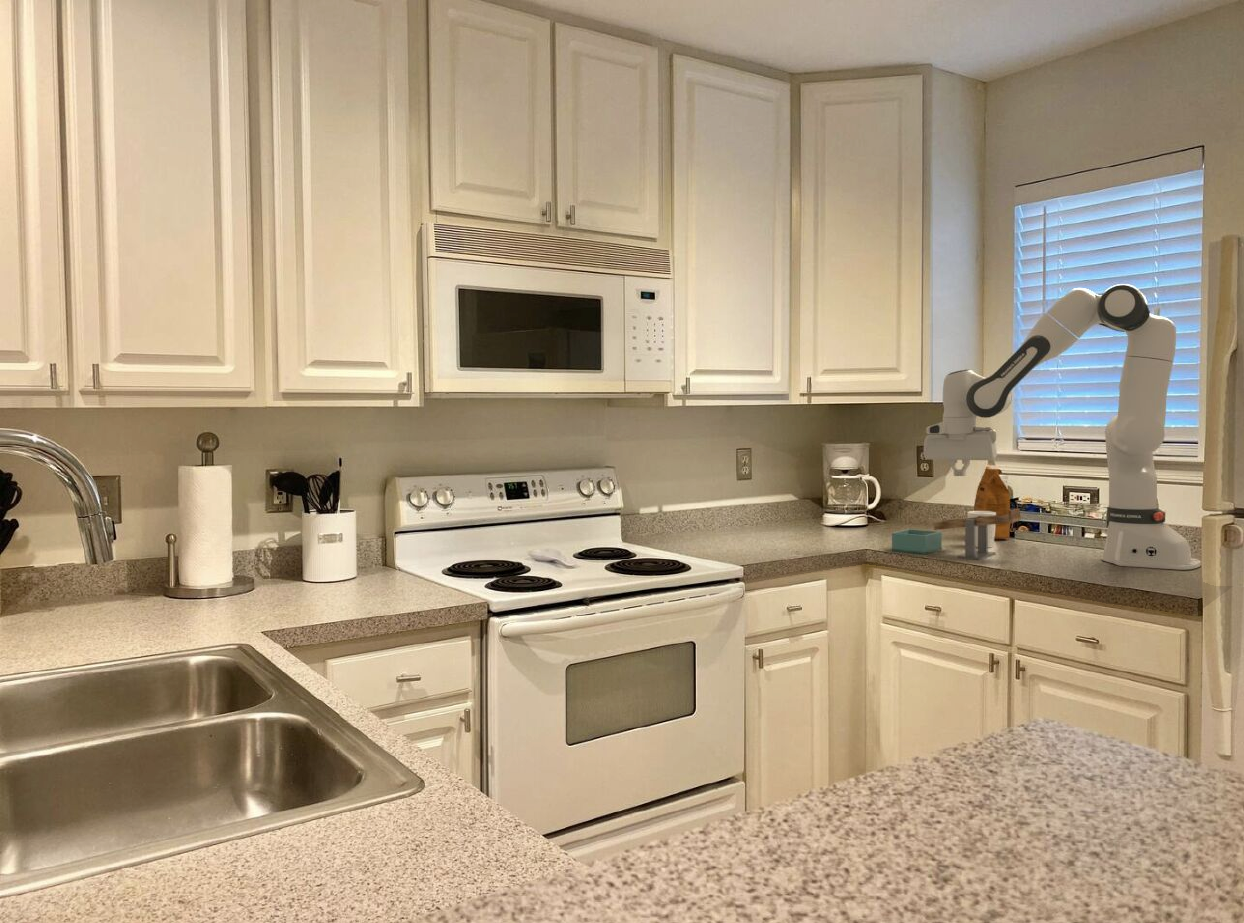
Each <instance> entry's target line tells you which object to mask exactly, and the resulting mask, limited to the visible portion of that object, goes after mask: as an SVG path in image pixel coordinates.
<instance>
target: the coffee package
mask: <svg viewBox="0 0 1244 923" xmlns="http://www.w3.org/2000/svg"><path fill="white" fill-rule="evenodd" d="M1002 473H1003V471H1002V470H1001V469H1000V468H991V467H990V466H986V467H985V469H984V472H983V475H982V476H981V478H980V481H979V483H978V485H977V489H976V493H975V499H974V503H973V504H974V506H973V511H991V512H996V515H1003V514H1008V511H1009V510H1011V505H1010V504H1011V494H1010V490H1009V489H1008V487H1007V485H1006V484H1005V482H1004V481H1003V479H1002V478H1001V476H1000V475H1002ZM1010 527H1011V523H1003V524H996V525H995V537H994V541H995V540H1003V539H1004V540H1005V539H1010V530H1011V528H1010Z"/></svg>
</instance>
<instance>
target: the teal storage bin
mask: <svg viewBox="0 0 1244 923" xmlns="http://www.w3.org/2000/svg"><path fill="white" fill-rule="evenodd" d="M942 534H943V533H942V531H939V530H937V531H936V530H923V529H913V528H912V529H910V528H906V529H904V530H898V531H894V532H892V533H891V551H892V552H900V553H908V554H911V553H912V554H919V555H921V554H922V555H928V554H931V553H934V552H938V551H939V552H940V551H942V537H943V536H942Z"/></svg>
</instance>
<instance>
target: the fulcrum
mask: <svg viewBox="0 0 1244 923" xmlns="http://www.w3.org/2000/svg"><path fill="white" fill-rule="evenodd" d="M978 517H983V516H978ZM975 524H976V520H974V519H965V527H964V530H965V531H964V534H965V535H964V536H965V537H964V539H965V540H964V543H965V544H964V545H965V546H964V547H965V549H964V553H960V554H958V555H957V558H958V559H966V560H967V559H968V560H978V561H980V560H983V559H987V558H989V557H992V556H995V555H996V552H994V551H989V548H988V525H981V526H978V547H977V550H976V547H975Z"/></svg>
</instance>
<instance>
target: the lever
mask: <svg viewBox="0 0 1244 923" xmlns="http://www.w3.org/2000/svg"><path fill="white" fill-rule="evenodd" d="M1020 511H1021V510H1020V508H1013V509H1010V510H1009V511H1008V514H1003V515H993V516H983V517H973V518H968V517H967V518H966V517H965V518H956V519H955V518H954V519H946V520H941V521H936V522H933V531H936V530H937V531H939V530H947V529H957V528H965V519H974V520H976V524H975V526H981V525H992V524H1003V523H1012V524H1013V523H1016V522H1021V520H1022V517H1021V512H1020Z"/></svg>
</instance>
